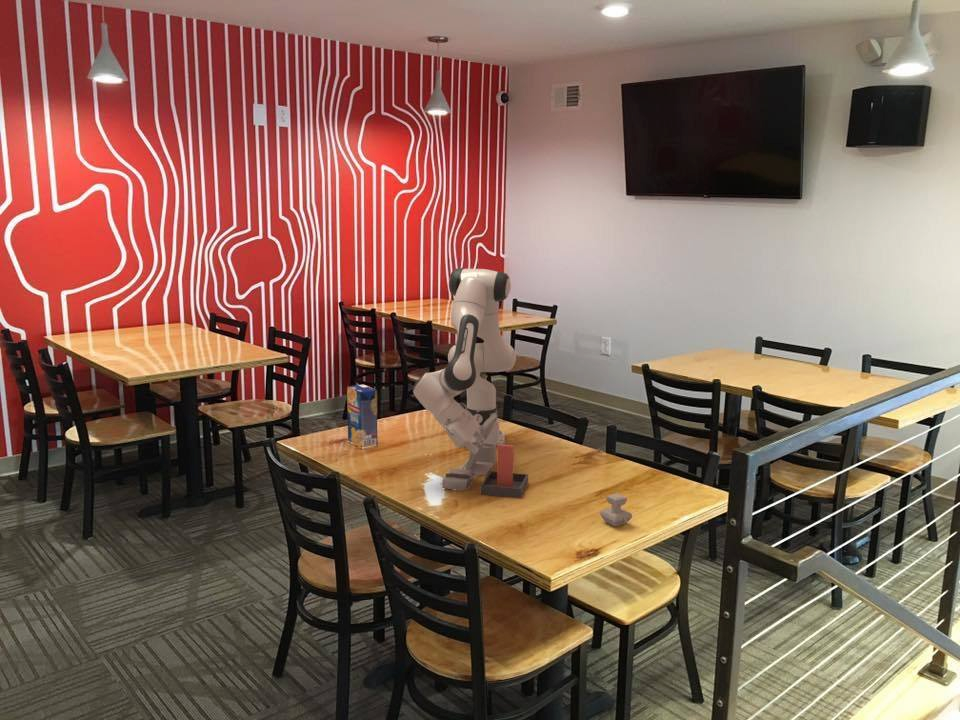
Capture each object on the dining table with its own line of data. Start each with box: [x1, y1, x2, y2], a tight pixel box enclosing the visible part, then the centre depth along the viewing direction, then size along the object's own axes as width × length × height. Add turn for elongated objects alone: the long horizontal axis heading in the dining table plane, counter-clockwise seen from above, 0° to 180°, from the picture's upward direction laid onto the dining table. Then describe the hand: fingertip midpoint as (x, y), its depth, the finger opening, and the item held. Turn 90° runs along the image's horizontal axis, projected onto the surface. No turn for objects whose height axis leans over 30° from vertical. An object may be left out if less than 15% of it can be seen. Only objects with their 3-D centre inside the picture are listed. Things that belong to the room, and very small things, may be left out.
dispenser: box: [441, 467, 476, 492], centre depth 255 cm, size 12×8×4 cm, turn 167°
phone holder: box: [458, 414, 499, 477], centre depth 270 cm, size 17×10×18 cm, turn 165°
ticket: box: [496, 444, 515, 487], centre depth 250 cm, size 1×5×14 cm, turn 77°
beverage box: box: [346, 383, 378, 448], centre depth 293 cm, size 7×11×22 cm, turn 36°
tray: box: [480, 470, 529, 499], centre depth 251 cm, size 14×13×3 cm
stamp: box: [599, 493, 633, 527], centre depth 224 cm, size 9×7×8 cm
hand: (480, 447), depth 251 cm, fingers open, 8 cm apart
